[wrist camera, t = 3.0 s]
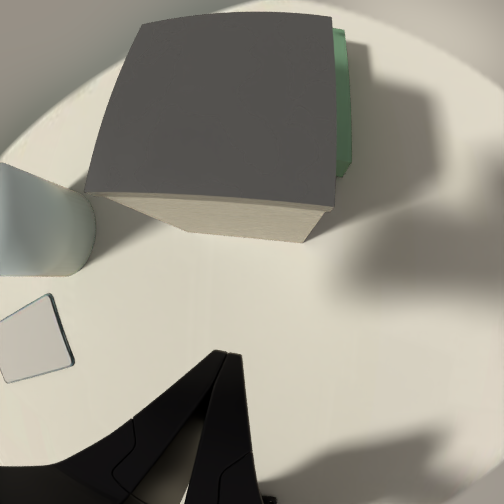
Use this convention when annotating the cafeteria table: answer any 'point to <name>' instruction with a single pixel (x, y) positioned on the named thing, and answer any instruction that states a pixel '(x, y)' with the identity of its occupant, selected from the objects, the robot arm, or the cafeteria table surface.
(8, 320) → the smartphone
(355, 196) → the cafeteria table surface
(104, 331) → the cafeteria table surface
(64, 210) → the round-topped grey cylinder
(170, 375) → the cafeteria table surface
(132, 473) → the robot arm
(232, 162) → the tin
